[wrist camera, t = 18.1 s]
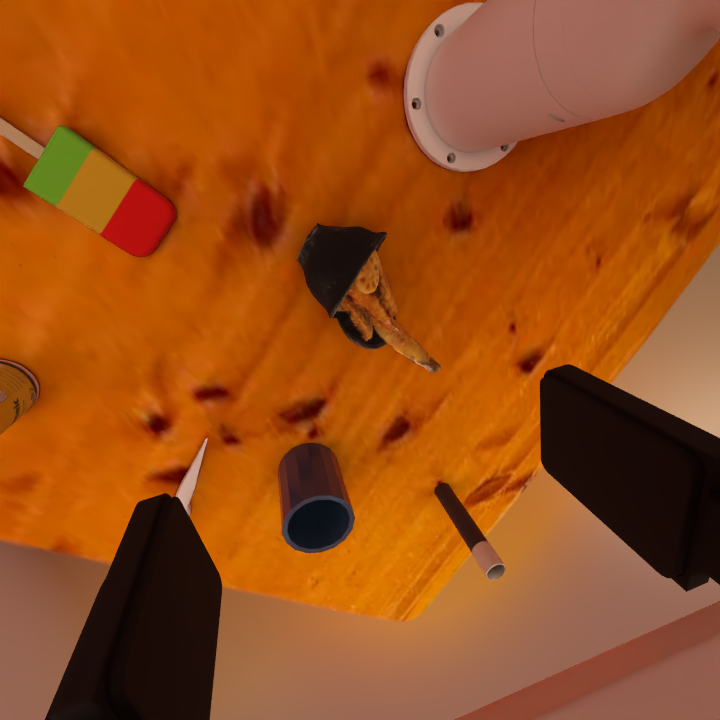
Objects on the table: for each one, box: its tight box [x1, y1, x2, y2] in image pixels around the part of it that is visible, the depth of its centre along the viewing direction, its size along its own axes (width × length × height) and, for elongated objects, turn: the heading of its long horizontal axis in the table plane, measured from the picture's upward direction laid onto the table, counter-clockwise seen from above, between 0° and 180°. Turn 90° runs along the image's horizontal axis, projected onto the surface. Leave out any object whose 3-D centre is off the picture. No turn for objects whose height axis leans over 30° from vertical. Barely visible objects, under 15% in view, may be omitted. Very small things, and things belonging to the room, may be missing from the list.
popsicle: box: [0, 117, 176, 257], centre depth 29 cm, size 6×15×2 cm, turn 51°
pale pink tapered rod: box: [175, 439, 208, 515], centre depth 41 cm, size 15×3×2 cm, turn 154°
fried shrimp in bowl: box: [297, 223, 441, 373], centre depth 35 cm, size 9×11×18 cm
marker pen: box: [435, 483, 506, 580], centre depth 46 cm, size 2×2×13 cm
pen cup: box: [278, 443, 355, 553], centre depth 41 cm, size 7×7×9 cm
